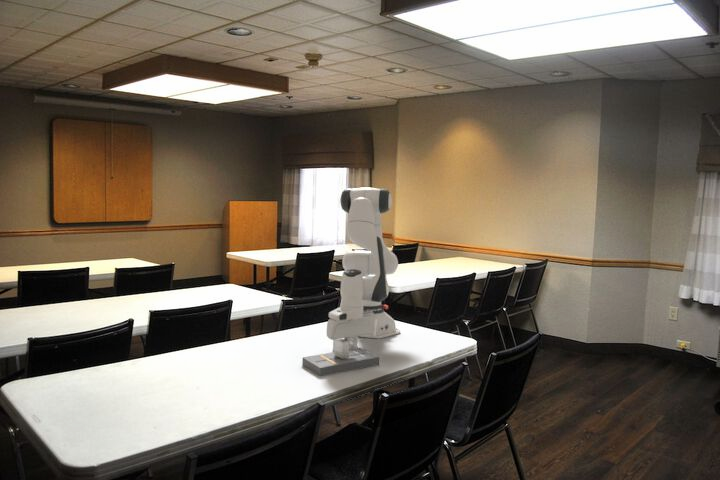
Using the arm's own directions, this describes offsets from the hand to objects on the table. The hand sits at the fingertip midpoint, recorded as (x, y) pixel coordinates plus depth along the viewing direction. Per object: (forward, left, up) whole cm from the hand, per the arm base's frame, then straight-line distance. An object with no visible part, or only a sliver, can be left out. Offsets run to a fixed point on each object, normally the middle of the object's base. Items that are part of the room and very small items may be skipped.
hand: (351, 347), depth 209 cm
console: (+4, 0, -6) cm, 7 cm away
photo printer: (-7, -15, -6) cm, 18 cm away
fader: (+4, 0, -3) cm, 5 cm away
